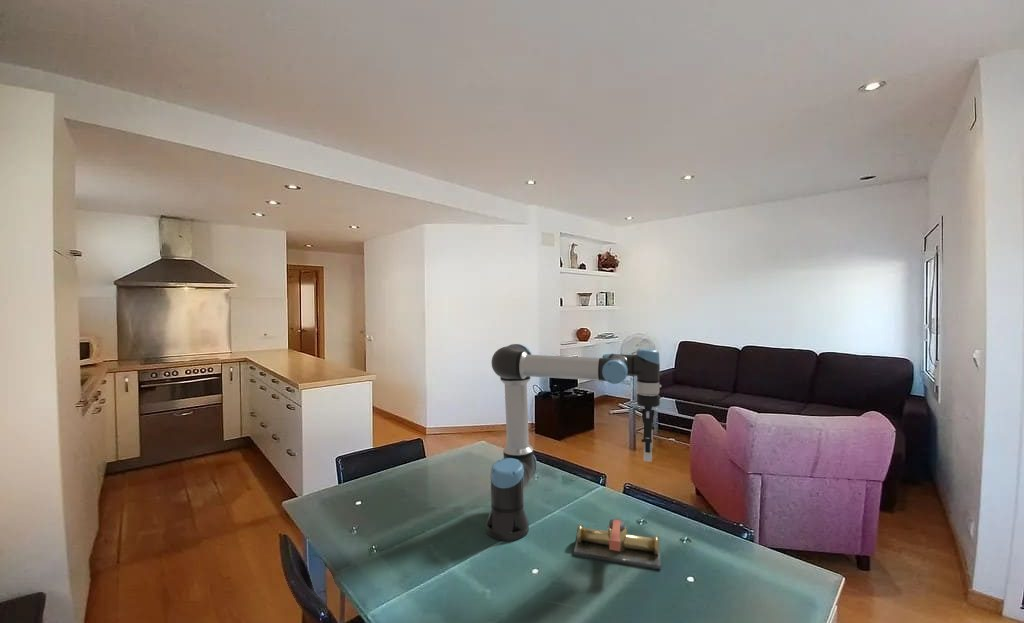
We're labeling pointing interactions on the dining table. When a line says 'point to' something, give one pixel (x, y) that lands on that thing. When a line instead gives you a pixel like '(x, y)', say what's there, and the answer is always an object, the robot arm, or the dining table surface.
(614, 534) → the lever
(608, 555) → the valve base
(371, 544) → the dining table surface
